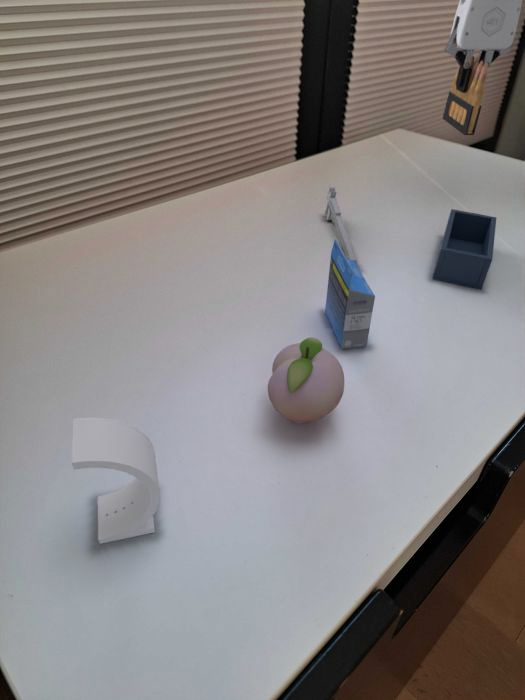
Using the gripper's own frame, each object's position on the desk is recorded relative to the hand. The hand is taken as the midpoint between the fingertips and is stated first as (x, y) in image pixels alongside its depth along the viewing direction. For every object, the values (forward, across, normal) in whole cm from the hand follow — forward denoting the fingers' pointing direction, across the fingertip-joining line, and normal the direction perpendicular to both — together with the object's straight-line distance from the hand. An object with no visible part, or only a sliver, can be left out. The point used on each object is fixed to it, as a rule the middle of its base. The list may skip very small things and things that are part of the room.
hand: (467, 90), depth 95 cm
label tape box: (+20, -33, -44) cm, 58 cm away
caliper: (+20, -27, -19) cm, 39 cm away
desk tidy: (+20, -8, -28) cm, 35 cm away
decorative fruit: (+20, -42, -59) cm, 75 cm away
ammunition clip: (+7, 0, 0) cm, 7 cm away
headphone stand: (+20, -61, -70) cm, 95 cm away
